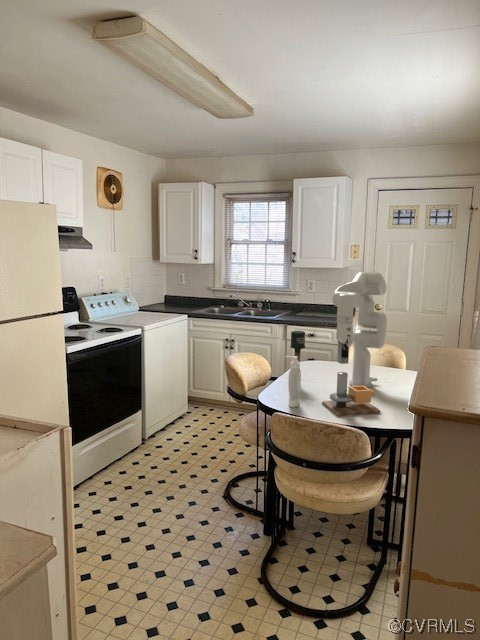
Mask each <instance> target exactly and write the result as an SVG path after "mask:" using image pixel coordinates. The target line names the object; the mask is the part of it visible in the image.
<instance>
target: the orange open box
mask: <svg viewBox="0 0 480 640" xmlns="http://www.w3.org/2000/svg"><path fill="white" fill-rule="evenodd" d="M347 394H350V395H352V396H353V402H354V403H371V402H372V397H376V391H375V390H374V389H373V390H372V389H370V388H369V387H365V386H352V385H350V386H348V388H347Z"/></svg>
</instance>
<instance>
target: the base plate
mask: <svg viewBox="0 0 480 640" xmlns="http://www.w3.org/2000/svg"><path fill="white" fill-rule="evenodd" d="M321 404H322V405H323V406H324V407H325V408H326V409H327V410H328V411H330V412H331V413H332V414H334V415H335V416H336V417H338V418H339V417H351V416H352V417H353V416H363V415H364V416H365V415H366V416H367V415H378V414H381V410H380V408H378V407H376V406H375V405H373V404H372V403H371V402H368V403H354V402H353V401H351V402H346V408H338V407H336V401H333V400H322V401H321Z"/></svg>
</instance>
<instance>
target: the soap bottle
mask: <svg viewBox="0 0 480 640" xmlns="http://www.w3.org/2000/svg"><path fill="white" fill-rule="evenodd" d="M285 358H290V359H292V360H291V362H290V369H289V373H288V393H289V395H288V396H289V398H288V404H287V405H288V407H290V408H296V407H298V406H299V405H300V393H301V386H302V385H301V382H302V375H301V374H302V373H301V372H302V371H301V367H300V365H301V363H299V362H298V360H297V358H298V357H297V356H295V355H294V356H292V355H285Z"/></svg>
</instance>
